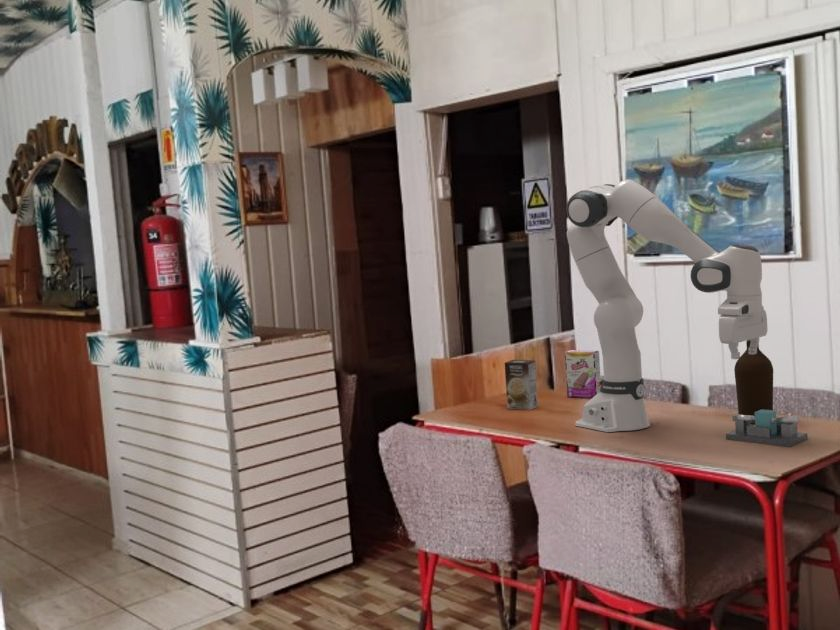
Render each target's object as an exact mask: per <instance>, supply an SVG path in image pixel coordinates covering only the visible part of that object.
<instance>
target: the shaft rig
mask: <svg viewBox="0 0 840 630" xmlns="http://www.w3.org/2000/svg"><path fill="white" fill-rule="evenodd" d="M732 421H733V422H735V423H734V424H735V425H734V427H735V429H733V430H731V431H729V432H727V433H725V440H730V441H737V442H738V441H739V442H746V443H756V444H764V445H771V446H780V447H789V448H790V447H792V446H796V445H797V444H799V443H801V442H804V441H806V440H808V433H807V432H801V431H800V432H798V423H800V416H799V415H798V414H793V415H789V416H782V417H776V425H777V433H775V434H773V435H771V428H765V427H755V425H751V423H754V422H755V417H754V416H751V415H741V414H737V413H733V414H732Z"/></svg>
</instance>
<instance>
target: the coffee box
mask: <svg viewBox="0 0 840 630" xmlns="http://www.w3.org/2000/svg"><path fill="white" fill-rule="evenodd" d="M536 367H537V366H536V360H529V359H511V360H509V361H506V362H504V373H505V375H504V376H505V377H504V378H505V391H506V394H505V395H506V408H507V409H510V410H525V411H526V410H527V411H530V410H533V409H536V408H537V406H539V405H538V404H539V401H538V388H537V387H538V385H537V368H536Z"/></svg>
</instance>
